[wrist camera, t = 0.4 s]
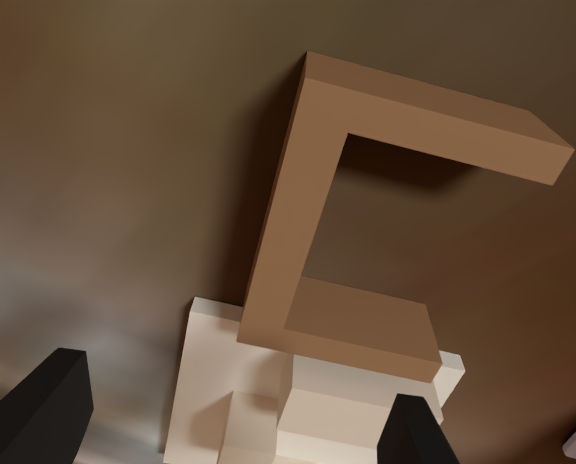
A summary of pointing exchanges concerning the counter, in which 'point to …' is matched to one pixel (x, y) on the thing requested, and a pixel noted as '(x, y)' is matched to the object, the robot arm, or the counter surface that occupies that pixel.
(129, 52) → the counter surface
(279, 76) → the counter surface
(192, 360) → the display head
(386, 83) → the tan c-shaped bracket
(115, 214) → the counter surface
